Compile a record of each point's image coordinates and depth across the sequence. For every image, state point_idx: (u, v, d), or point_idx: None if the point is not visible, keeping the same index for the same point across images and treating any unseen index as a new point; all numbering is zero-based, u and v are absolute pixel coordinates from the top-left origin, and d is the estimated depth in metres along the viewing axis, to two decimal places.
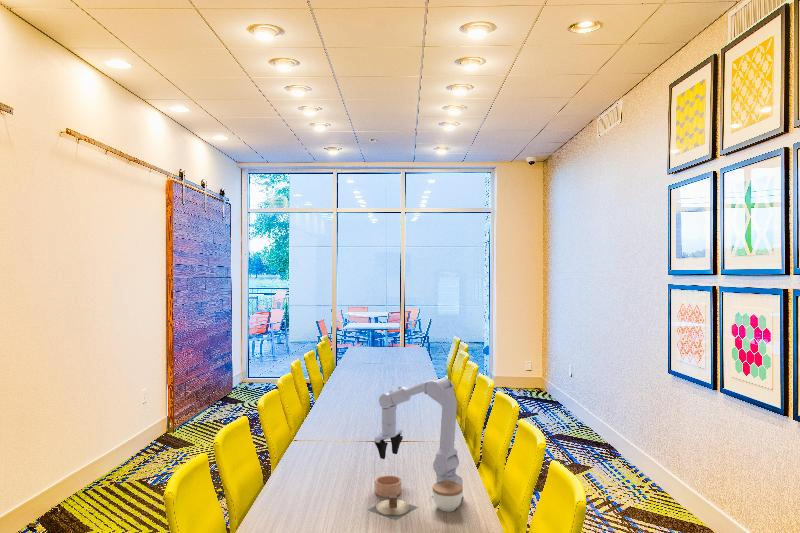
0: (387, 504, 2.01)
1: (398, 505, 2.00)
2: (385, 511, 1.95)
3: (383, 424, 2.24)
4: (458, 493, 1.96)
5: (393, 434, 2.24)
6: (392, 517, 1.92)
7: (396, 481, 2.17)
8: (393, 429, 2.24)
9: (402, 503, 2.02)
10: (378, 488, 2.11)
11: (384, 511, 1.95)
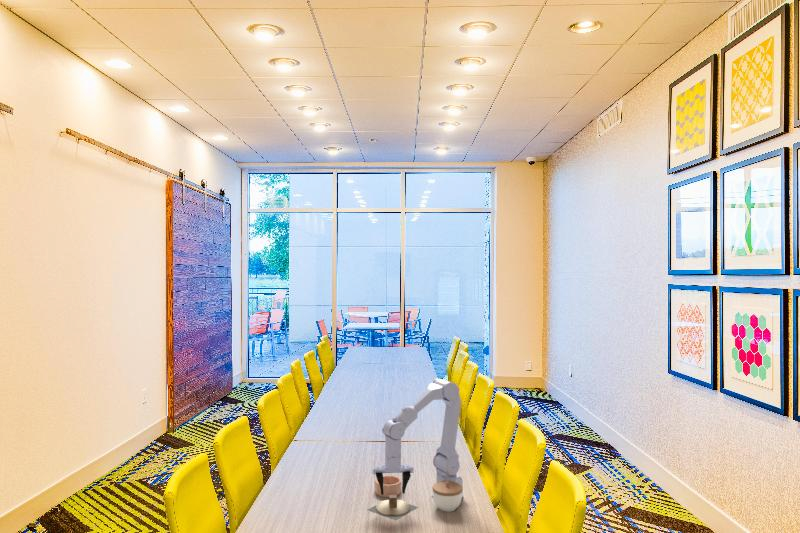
0: (387, 504, 2.01)
1: (398, 505, 2.00)
2: (385, 511, 1.95)
3: (385, 455, 1.99)
4: (458, 493, 1.96)
5: (392, 469, 1.96)
6: (392, 517, 1.92)
7: (396, 481, 2.17)
8: (393, 463, 1.97)
9: (402, 503, 2.02)
10: (378, 488, 2.11)
11: (384, 511, 1.95)
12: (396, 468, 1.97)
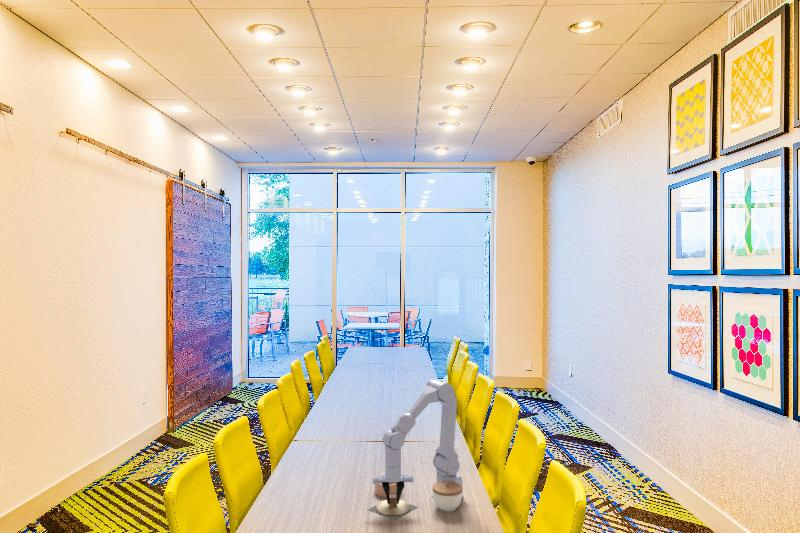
0: (387, 504, 2.01)
1: (398, 505, 2.00)
2: (385, 511, 1.95)
3: (385, 465, 1.99)
4: (458, 493, 1.96)
5: (392, 479, 1.96)
6: (392, 517, 1.92)
7: None
8: (393, 473, 1.96)
9: (402, 503, 2.02)
10: (378, 488, 2.11)
11: (384, 511, 1.95)
12: (396, 478, 1.97)
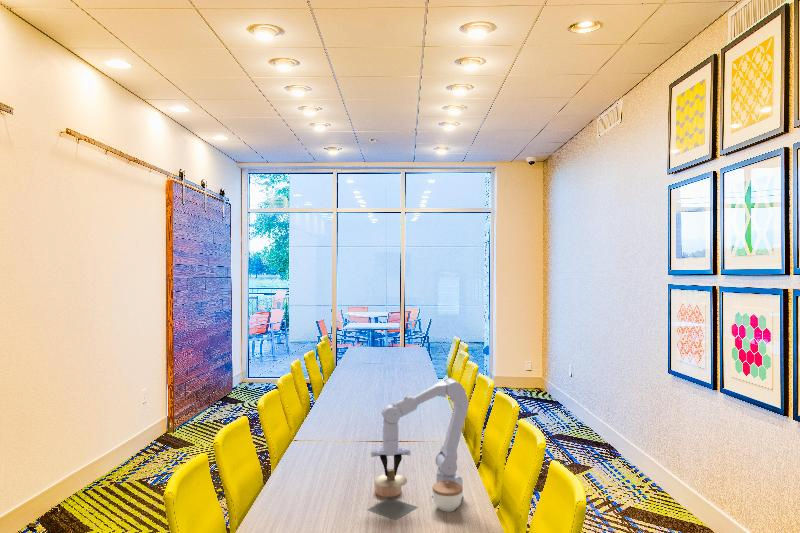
0: (385, 478, 2.08)
1: (396, 479, 2.07)
2: (383, 483, 2.02)
3: (383, 439, 2.07)
4: (458, 493, 1.96)
5: (390, 452, 2.04)
6: (392, 517, 1.92)
7: None
8: (390, 446, 2.04)
9: (399, 477, 2.09)
10: (378, 488, 2.11)
11: (382, 483, 2.02)
12: (394, 451, 2.05)
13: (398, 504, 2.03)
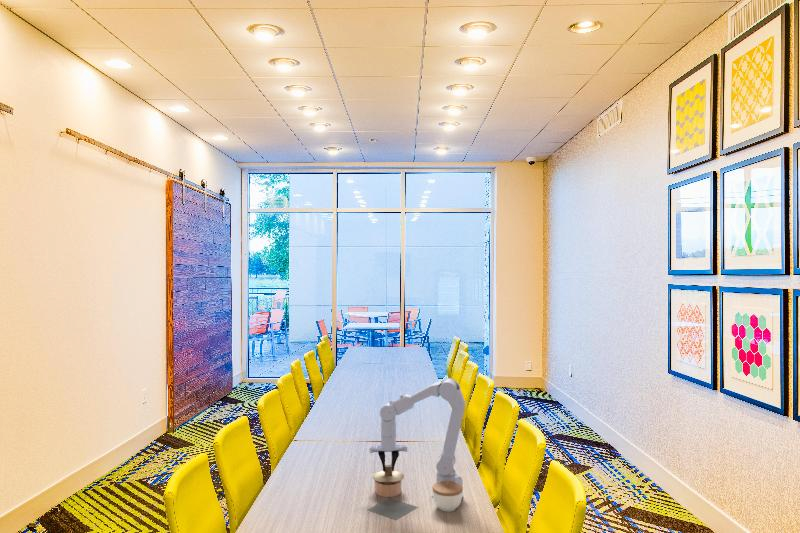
0: (383, 474, 2.16)
1: (393, 474, 2.15)
2: (381, 478, 2.10)
3: (381, 435, 2.15)
4: (458, 493, 1.96)
5: (388, 448, 2.12)
6: (392, 517, 1.92)
7: None
8: (388, 443, 2.12)
9: (397, 473, 2.17)
10: (378, 488, 2.11)
11: (380, 478, 2.10)
12: (391, 447, 2.12)
13: (398, 504, 2.03)
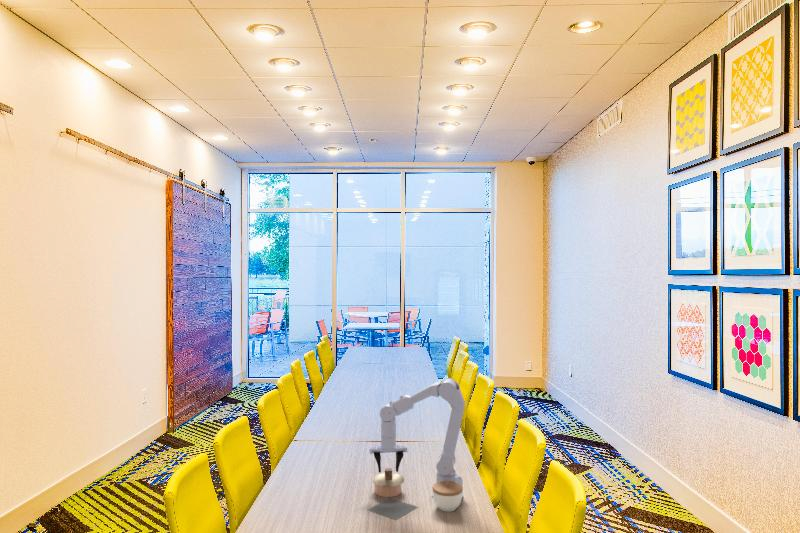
0: (383, 477, 2.16)
1: (394, 478, 2.15)
2: (381, 482, 2.10)
3: (381, 436, 2.15)
4: (458, 493, 1.96)
5: (388, 449, 2.12)
6: (392, 517, 1.92)
7: None
8: (388, 443, 2.12)
9: (397, 476, 2.17)
10: (378, 488, 2.11)
11: (380, 483, 2.10)
12: (391, 448, 2.12)
13: (398, 504, 2.03)
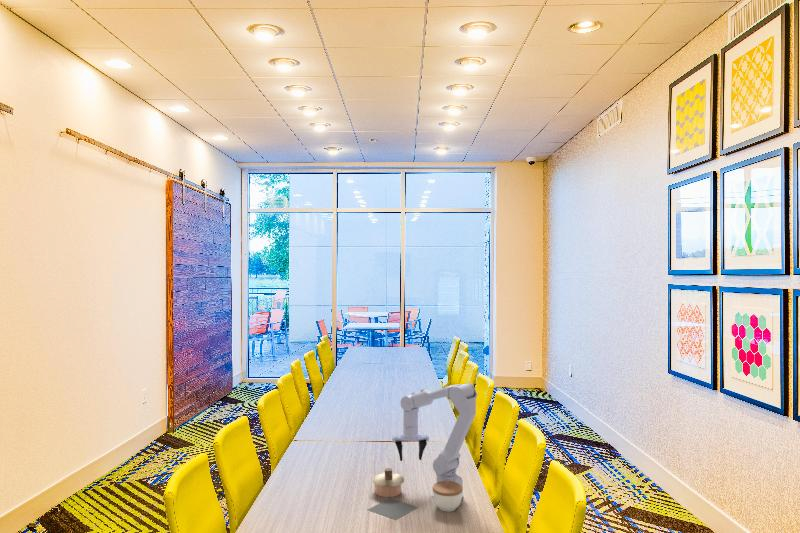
0: (383, 477, 2.16)
1: (394, 478, 2.15)
2: (381, 482, 2.10)
3: None
4: (458, 493, 1.96)
5: (410, 438, 2.18)
6: (392, 517, 1.92)
7: None
8: (410, 432, 2.18)
9: (397, 476, 2.17)
10: (378, 488, 2.11)
11: (380, 483, 2.10)
12: (414, 437, 2.19)
13: (398, 504, 2.03)
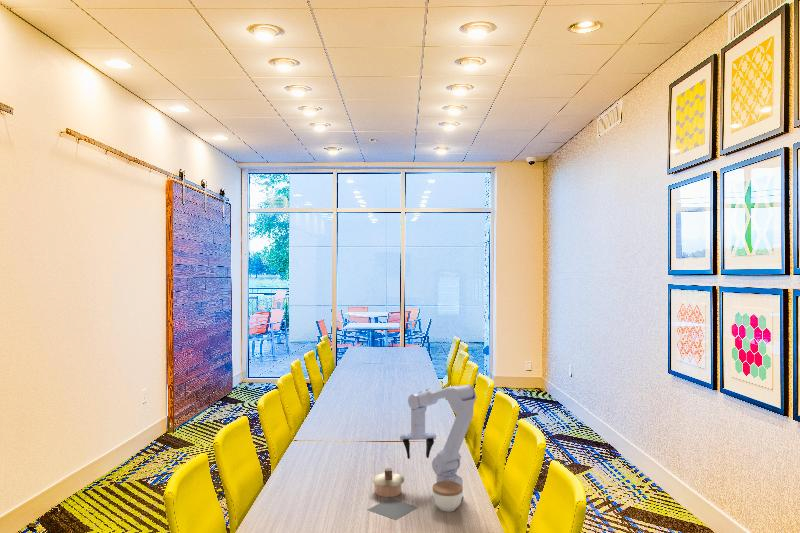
0: (383, 477, 2.16)
1: (394, 478, 2.15)
2: (381, 482, 2.10)
3: (411, 424, 2.24)
4: (458, 493, 1.96)
5: (418, 436, 2.21)
6: (392, 517, 1.92)
7: None
8: (418, 431, 2.21)
9: (397, 476, 2.17)
10: (378, 488, 2.11)
11: (380, 483, 2.10)
12: (421, 435, 2.21)
13: (398, 504, 2.03)
